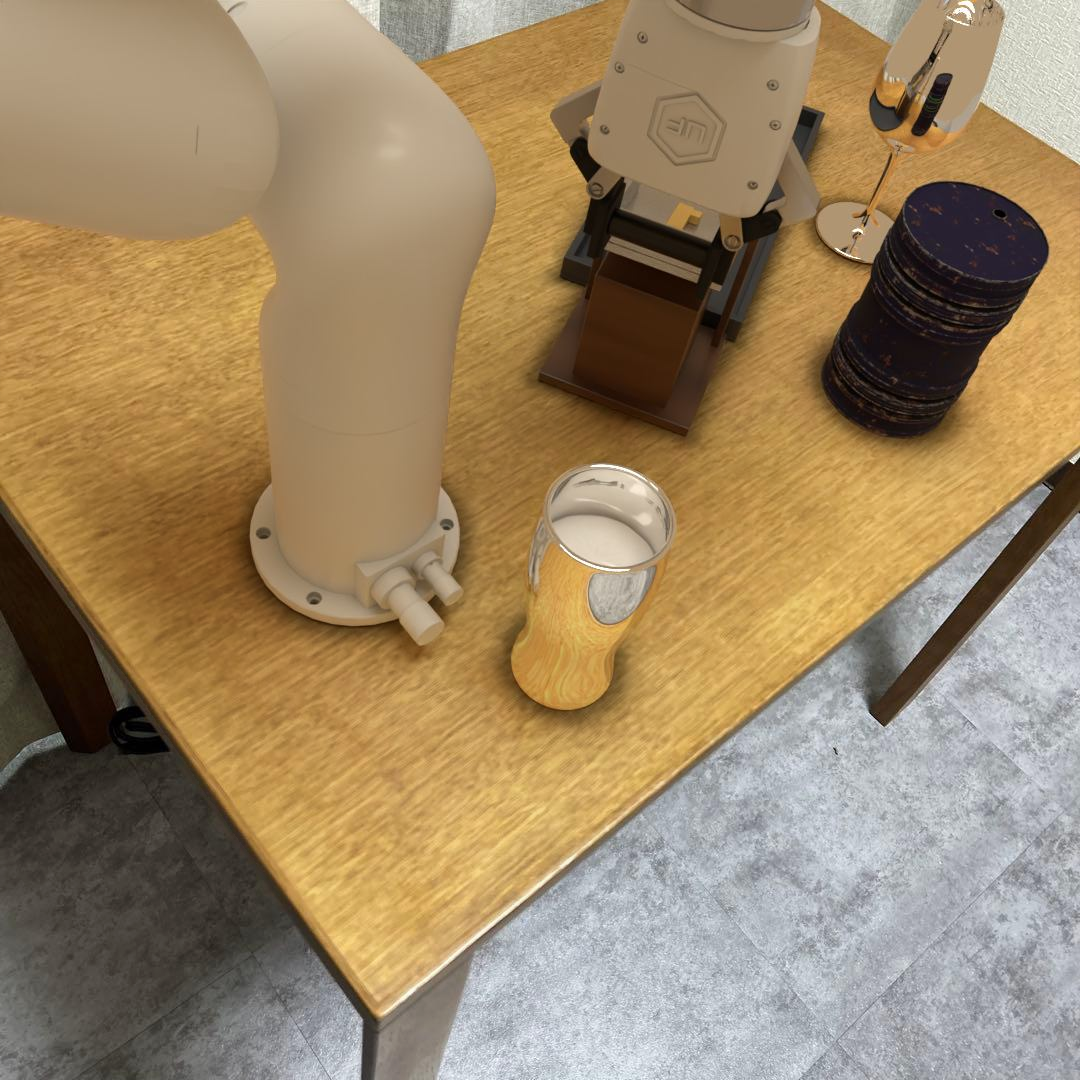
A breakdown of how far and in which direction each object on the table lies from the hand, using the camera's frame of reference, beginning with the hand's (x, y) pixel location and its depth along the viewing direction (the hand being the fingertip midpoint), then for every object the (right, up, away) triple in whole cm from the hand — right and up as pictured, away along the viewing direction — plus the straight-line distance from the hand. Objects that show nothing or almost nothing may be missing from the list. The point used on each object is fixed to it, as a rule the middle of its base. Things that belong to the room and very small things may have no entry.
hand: (652, 263), depth 66 cm
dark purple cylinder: (+19, -5, +16) cm, 26 cm away
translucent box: (+2, +3, +5) cm, 6 cm away
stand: (0, -3, +14) cm, 15 cm away
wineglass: (+20, +9, +27) cm, 35 cm away
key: (+2, +3, +5) cm, 6 cm away
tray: (+7, +12, +26) cm, 30 cm away
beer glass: (-5, -24, -1) cm, 25 cm away
